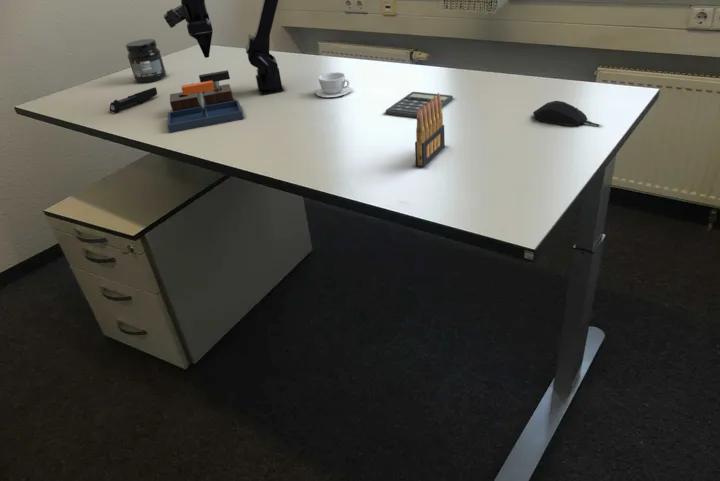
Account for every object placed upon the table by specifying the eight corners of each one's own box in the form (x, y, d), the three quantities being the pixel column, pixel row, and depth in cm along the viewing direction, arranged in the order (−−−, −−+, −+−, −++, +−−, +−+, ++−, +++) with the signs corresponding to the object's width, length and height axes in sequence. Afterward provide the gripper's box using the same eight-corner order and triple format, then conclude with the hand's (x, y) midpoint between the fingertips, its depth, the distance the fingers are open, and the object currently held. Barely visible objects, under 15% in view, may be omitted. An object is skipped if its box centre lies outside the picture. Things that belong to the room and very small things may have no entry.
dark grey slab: (234, 101, 157) (227, 70, 152) (235, 103, 155) (228, 71, 150) (206, 106, 155) (198, 75, 150) (207, 108, 154) (199, 76, 149)
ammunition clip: (437, 145, 118) (436, 91, 112) (445, 146, 117) (444, 91, 111) (415, 166, 111) (413, 109, 104) (423, 167, 110) (421, 110, 103)
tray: (239, 106, 153) (237, 99, 152) (243, 118, 144) (241, 111, 143) (170, 119, 149) (167, 112, 148) (169, 132, 140) (167, 125, 139)
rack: (232, 99, 159) (229, 83, 156) (235, 106, 153) (231, 90, 151) (174, 109, 156) (170, 94, 153) (174, 117, 150) (169, 101, 147)
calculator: (385, 109, 136) (412, 90, 147) (385, 113, 137) (413, 94, 147) (427, 115, 131) (453, 94, 141) (427, 118, 131) (453, 98, 142)
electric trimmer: (161, 97, 167) (158, 87, 166) (116, 113, 158) (112, 103, 156) (154, 96, 170) (151, 86, 168) (109, 111, 160) (105, 101, 158)
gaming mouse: (593, 131, 117) (596, 113, 115) (528, 119, 125) (529, 102, 123) (604, 121, 121) (607, 103, 118) (540, 110, 129) (542, 94, 127)
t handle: (220, 113, 148) (212, 80, 143) (220, 115, 146) (212, 82, 141) (190, 118, 146) (181, 85, 141) (190, 121, 145) (181, 87, 140)
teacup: (310, 98, 153) (307, 81, 150) (325, 86, 161) (323, 70, 158) (342, 99, 149) (341, 82, 147) (356, 87, 157) (355, 71, 154)
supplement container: (154, 72, 193) (144, 37, 186) (173, 75, 187) (163, 39, 180) (129, 81, 186) (117, 45, 179) (147, 85, 180) (136, 47, 174)
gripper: (161, -7, 151) (176, 51, 160) (159, 3, 136) (177, 66, 144) (202, -13, 153) (215, 45, 162) (205, -4, 138) (219, 59, 146)
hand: (206, 53), depth 153 cm, fingers open, 9 cm apart
